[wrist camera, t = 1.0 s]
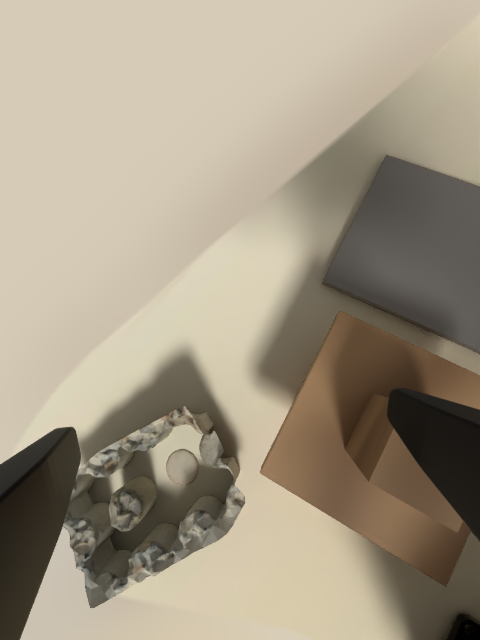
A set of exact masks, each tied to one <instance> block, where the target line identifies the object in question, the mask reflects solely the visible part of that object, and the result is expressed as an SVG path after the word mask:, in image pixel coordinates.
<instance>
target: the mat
mask: <svg viewBox="0 0 480 640" xmlns="http://www.w3.org/2000/svg"><path fill="white" fill-rule="evenodd" d="M322 283H324V284H326V285H328V286H330V287H332V288H335V289H337V290H339V291H341V292H344V293H346V294H348V295H350V296H352V297H355V298H357V299H359V300H361V301H364V302H366V303H368V304H370V305H373V306H375V307H377V308H379V309H381V310H384V311H386V312H388V313H390V314H393V315H395V316H397V317H399V318H401V319H404V320H406V321H408V322H410V323H413V324H415V325H417V326H419V327H422V328H424V329H426V330H428V331H430V332H433V333H435V334H437V335H439V336H442V337H444V338H446V339H448V340H450V341H453V342H455V343H457V344H459V345H462V346H464V347H466V348H468V349H471V350H473V351H475V352H477V353H479V354H480V187H479V186H476V185H473V184H471V183H468V182H465V181H462V180H459V179H456V178H453V177H450V176H447V175H444V174H441V173H438V172H435V171H433V170H430V169H427V168H424V167H421V166H418V165H415V164H412V163H409V162H406V161H403V160H400V159H397V158H394V157H392V156H389V155H386V157H385V159H384V161H383V163H382V165H381V167H380V169H379V171H378V173H377V175H376V177H375V179H374V181H373V183H372V185H371V187H370V189H369V191H368V193H367V195H366V197H365V199H364V201H363V203H362V205H361V207H360V209H359V211H358V213H357V215H356V217H355V219H354V221H353V223H352V225H351V227H350V229H349V231H348V233H347V235H346V237H345V239H344V241H343V242H342V244H341V246H340V248H339V250H338V252H337V254H336V256H335V258H334V260H333V262H332V264H331V266H330V268H329V270H328V272H327V274H326V276H325V278H324V280H323V282H322Z"/></svg>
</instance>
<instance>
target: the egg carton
mask: <svg viewBox="0 0 480 640" xmlns="http://www.w3.org/2000/svg"><path fill="white" fill-rule="evenodd" d="M183 424H189V425H191V426H192V427H194V428H195V430H196V431H197V432H198V433H201V434H203V436H202V439H201V442H200V447H199V449H200V453H201V457H202V459H203V461H204V462H206V463H207V464H208V465H210V466H211V467H213V468H218V469H219V468H226V469H229V470H230V472H231V474H232V476H233V481H234V482H233V484H232V485H231V487H230V489H229V490H228V491H227V496H226V504H222V503H221V501H220V500H219V499H217V498H216V497H214V496H209V495H208V496H202V497H200V498H199V499H197V500H196V502H195V503H194V504H193V506H192V507H191V509H190V510H189V512H188V513H187V515H186V516H185V517H184V519H183V520H182V521H181V522H180V524H179V530H178V529H177V528H176V527H175V526H173V525H171V524H169V523H162V524H159V525H157V526H156V527H154V528H153V530H152V531H151V532H150V533H149V535H148V536H147V537H146V538H145V540H144V541H143V542H142V543H141V544H140V545H139V546H138V547H137V548H136V549H135V550H134V551H133V552H130V551H128V550H118V551H116V550H115V549H114V546H113V544H112V542H111V539H110V537H111V534H112V533H113V531H114V529H115V528H117V529H118V530H119V531H130V530H131V529H132V528H133V527H134V526H136V525H137V524H138V523H139V522H140V521H141V520H142V519H143V518H144V516H145V515H146V514H147V513H148V512H149V511H150V510H151V509H152V507H153V506H154V504H155V502H156V499H157V494H158V492H157V488H156V485H155V484H154V482H153V481H152V480H151V479H150V478H148V477H145V476H139V477H135V478H134V479H132V480H131V481H129V482H128V483H127V484H125V485H124V486H123V487H121V488H120V489H118V490H117V491H116V492H115V493H114V494H113V495H112V496H111V499H110V504H107V503H104V502H99V503H96V504H94V503H93V502H92V500H91V498H90V496H89V494H88V490H89V489H90V487H91V486H92V485H93V483H94V480H95V478H96V477H106V478H107V477H109V476H110V475H111V474H112V473H114V472H116V471H117V470H119V469H120V468H122V467H123V466H125V465H126V464H127V463H128V462H129V461H130V460H131V459H132V457H133V455H134V451H135V450H140V451H147V450H148V449H149V448H150V447H152V448H153V447H154V446H156V444H158V443H159V442H161V441H162V440H164V439H165V438H167V437H168V436H169V434H170V433H171V432H172V429H173V428H174V427H176V426H179V425H183ZM213 425H214V424H213V422H212V420H211V418H210V416H209V414H208V413H201V414H194V413H191V412H189V411H188V409H187V408H186V407H185V406H183V407H182V409H175V410H174V411H172V412H170V413H169V414H167V415H165V416H164V417H162V418H160V419H158V420H156V421H154V422H152V423H151V424H149V425H147V426H145V427H143V428H142V429H141V428H140V429H138V430H137V431H135V432H133V433H131V434H129V435H128V436H126V437H124V438H123V439H121V440H119V441H117V442H115V443H113V444H111V445H109V446H108V447H106V448H104V449H103V450H101V451H99V452H98V453H96V454H95V455H94V456H93V457H92V458H91V459H90V460H89V461H87V462H86V463H85V464H84V465H83V466H82V467H81V468H80V469H79V470H78V472H77V476H76V480H75V484H74V487H73V491H72V495H71V499H70V502H69V506H68V510H67V514H66V517H65V520H64V524H63V527H64V528H65V529H66V530H68V532H69V534H70V547H71V548H72V549H73V552H74V555H75V561H76V569H79V570H81V571H83V572H84V574H85V588H86V593H87V597H88V601H89V605H90V608H95V607H96V606H98V605H100V604H102V603H104V602H105V601H107V600H109V599H110V598H112V597H114V596H116V595H118V594H120V593H121V592H123V591H124V590H126V589H127V588H128V587H130V586H131V585H133V584H135V583H137V582H138V583H140V582H142V581H143V580H144V579H145V578H146V577H147V576H150V575H152V576H156V575H157V574H159V573H160V572H162V571H163V570H165V569H166V568H168V567H169V566H171V565H172V564H174V563H176V562H178V561H180V560H182V559H184V558H186V557H187V556H189V555H190V554H192V553H193V552H195V551H197V550H200V549H202V548H204V547H206V546H208V545H210V544H212V543H214V542H216V541H218V540H219V539H221V538H222V537H223V536H224V535H226V534H227V533H228V531H229V530H230V529H231V527H232V526H233V524H234V522H235V520H236V518H237V516H238V514H239V513H240V511H241V509H242V507H243V505H244V504H245V498H244V495H243V493H242V492H241V491H240V490H239V489H238V488H237V487H235V485H234V484H235V481H236V479H237V477H238V475H239V473H240V469H239V467H238V465H237V463H236V460H235V458H234V457H229V458H221V455H222V453H223V452H224V449H223V447H222V445H221V443H220V440H219V438H218V436H217V434H216V432H215V431H213V432H212V434H209V433H208V432H209V430H210V429H211V428H212V427H213ZM166 470H167V474H168V477H169V478H170V479H171V480H172V481H173V482H174V483H176V484H179V485H184V484H188V483H191V482H192V481H193V480H194V479H195V477H196V476H197V472H198V461H197V459H196V457H195V456H194V454H192V453H191V452H189V451H187V450H182V449H180V450H177V451H175V452H174V453H173V454H171V456H169V458H168V461H167V465H166Z"/></svg>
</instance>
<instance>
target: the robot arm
mask: <svg viewBox="0 0 480 640" xmlns="http://www.w3.org/2000/svg"><path fill="white" fill-rule="evenodd" d="M387 418H388V420H389V422H390V424H391V425H392V427H393V428H394V430H395V431H396V432H397V434H398V435H399V437H400V438H401V440H402V441H403V443H404V444H405V446H406V447H407V449H408V450H409V452H410V453H411V455H412V456H413V458H414V459H415V461H416V462H417V464H418V465H419V466H420V468H421V469H422V470H423V471H424V473H425V474H426V475H427V476H428V478H429V479H430V480H431V481H432V483H433V484H434V485H435V486H436V488H437V489H438V490H439V491H440V493H441V494H442V495H443V496H444V498H445V499H446V500H447V501H448V503H449V504H450V505H451V506H452V508H453V509H454V510H455V511H456V513H457V514H458V515H459V516H460V518H461V519H462V520H463V521H464V523H465V524H466V525H467V526H468V528H469V529H470V530H471V531H472V533H473V534H474V535H475V536H476V537H477V539H478V540H479V541H480V410H479V409H476V408H473V407H469V406H466V405H462V404H459V403H456V402H452V401H449V400H445V399H442V398H439V397H435V396H432V395H428V394H425V393H422V392H418V391H415V390H411V389H408V388H396V389H392V390H391V391H390V393H389V399H388V406H387ZM80 460H81V454H80V448H79V444H78V439H77V434H76V430H75V429H74V428H73V427H64V428H57V429H54V430H53V431H51V432H50V433H48V434H47V435H45V436H44V437H42V438H40V439H39V440H37V441H36V442H34V443H33V444H31V445H30V446H28V447H27V448H25V449H23V450H22V451H20V452H19V453H17V454H16V455H14V456H13V457H11V458H10V459H8V460H7V461H5V462H3V463H2V464H0V640H20V638H21V635H22V632H23V630H24V627H25V624H26V622H27V619H28V617H29V614H30V611H31V609H32V606H33V604H34V601H35V598H36V596H37V593H38V590H39V588H40V585H41V583H42V580H43V577H44V574H45V572H46V569H47V567H48V564H49V562H50V559H51V556H52V554H53V551H54V548H55V546H56V543H57V541H58V538H59V535H60V532H61V530H62V527H63V524H64V520H65V517H66V514H67V510H68V506H69V502H70V499H71V495H72V491H73V487H74V484H75V480H76V476H77V472H78V469H79V465H80ZM466 625H471V626H470V628H469V629H465V627H466ZM447 640H480V621H478V620H476V619H475V618H473V617H471V616H470V615H468V614H460V615H458V616H457V618H456V620H455V622H454V624H453V627H452V629H451V631H450V634H449V636H448V638H447Z"/></svg>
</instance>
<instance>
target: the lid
mask: <svg viewBox="0 0 480 640" xmlns="http://www.w3.org/2000/svg"><path fill="white" fill-rule="evenodd" d="M396 388H408V389H411V390H415V391H418V392H422V393H425V394H428V395H432V396H435V397H439V398H442V399H445V400H449V401H452V402H456V403H459V404H462V405H466V406H469V407H473V408H476V409H479V410H480V375H478V374H475V373H473V372H471V371H469V370H467V369H465V368H462V367H460V366H458V365H456V364H454V363H452V362H449V361H447V360H445V359H443V358H441V357H439V356H436V355H434V354H432V353H430V352H428V351H426V350H424V349H421V348H419V347H417V346H415V345H413V344H411V343H408V342H406V341H404V340H402V339H400V338H398V337H395V336H393V335H391V334H389V333H387V332H385V331H383V330H380V329H378V328H376V327H374V326H372V325H370V324H367V323H365V322H363V321H361V320H359V319H357V318H354V317H352V316H350V315H348V314H346V313H344V312H341V311H340V312H339V313H338V314H337V316H336V318H335V320H334V322H333V324H332V326H331V328H330V330H329V332H328V334H327V336H326V338H325V340H324V342H323V344H322V346H321V348H320V350H319V352H318V354H317V356H316V358H315V360H314V362H313V364H312V366H311V368H310V370H309V372H308V374H307V376H306V378H305V380H304V382H303V384H302V386H301V388H300V390H299V392H298V394H297V396H296V398H295V400H294V402H293V404H292V406H291V408H290V410H289V412H288V414H287V416H286V418H285V420H284V422H283V424H282V426H281V428H280V430H279V432H278V434H277V436H276V438H275V440H274V442H273V444H272V446H271V448H270V450H269V452H268V454H267V456H266V458H265V460H264V462H263V464H262V466H261V471H260V473H261V474H262V475H264V476H266V477H267V478H269V479H270V480H272V481H274V482H275V483H277V484H279V485H280V486H282V487H284V488H285V489H287V490H288V491H290V492H292V493H293V494H295V495H297V496H298V497H300V498H301V499H303V500H305V501H306V502H308V503H310V504H311V505H313V506H315V507H316V508H318V509H319V510H321V511H323V512H324V513H326V514H328V515H329V516H331V517H332V518H334V519H336V520H337V521H339V522H341V523H342V524H344V525H346V526H347V527H349V528H350V529H352V530H354V531H355V532H357V533H359V534H360V535H362V536H364V537H365V538H367V539H368V540H370V541H372V542H373V543H375V544H377V545H378V546H380V547H381V548H383V549H385V550H386V551H388V552H390V553H391V554H393V555H395V556H396V557H398V558H399V559H401V560H403V561H404V562H406V563H408V564H409V565H411V566H413V567H414V568H416V569H417V570H419V571H421V572H422V573H424V574H426V575H427V576H429V577H430V578H432V579H434V580H435V581H437V582H439V583H440V584H442V585H444V586H445V587H446V586H447V584H448V581H449V579H450V577H451V575H452V572H453V570H454V568H455V565H456V563H457V561H458V559H459V556H460V554H461V552H462V549H463V547H464V545H465V543H466V540H467V538H468V536H469V533H470V531H471V530H470V529H469V528H468V526H467V525H466V524H465V523H464V521H463V520H462V519H461V518H460V516H459V515H458V514H457V513H456V511H455V510H454V509H453V508H452V506H451V505H450V504H449V503H448V501H447V500H446V499H445V498H444V496H443V495H442V494H441V493H440V491H439V490H438V489H437V488H436V486H435V485H434V484H433V483H432V481H431V480H430V479H429V478H428V476H427V475H426V474H425V473H424V471H423V470H422V469H421V468H420V466H419V465H418V464H417V462H416V461H415V459H414V458H413V456H412V455H411V453H410V452H409V450H408V449H407V447H406V446H405V444H404V443H403V441H402V440H401V438H400V437H399V435H398V434H397V432H396V431H395V430H394V428H393V427H392V425H391V424H390V422H389V420H388V418H387V406H388V399H389V393H390V391H391V390H392V389H396Z"/></svg>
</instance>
